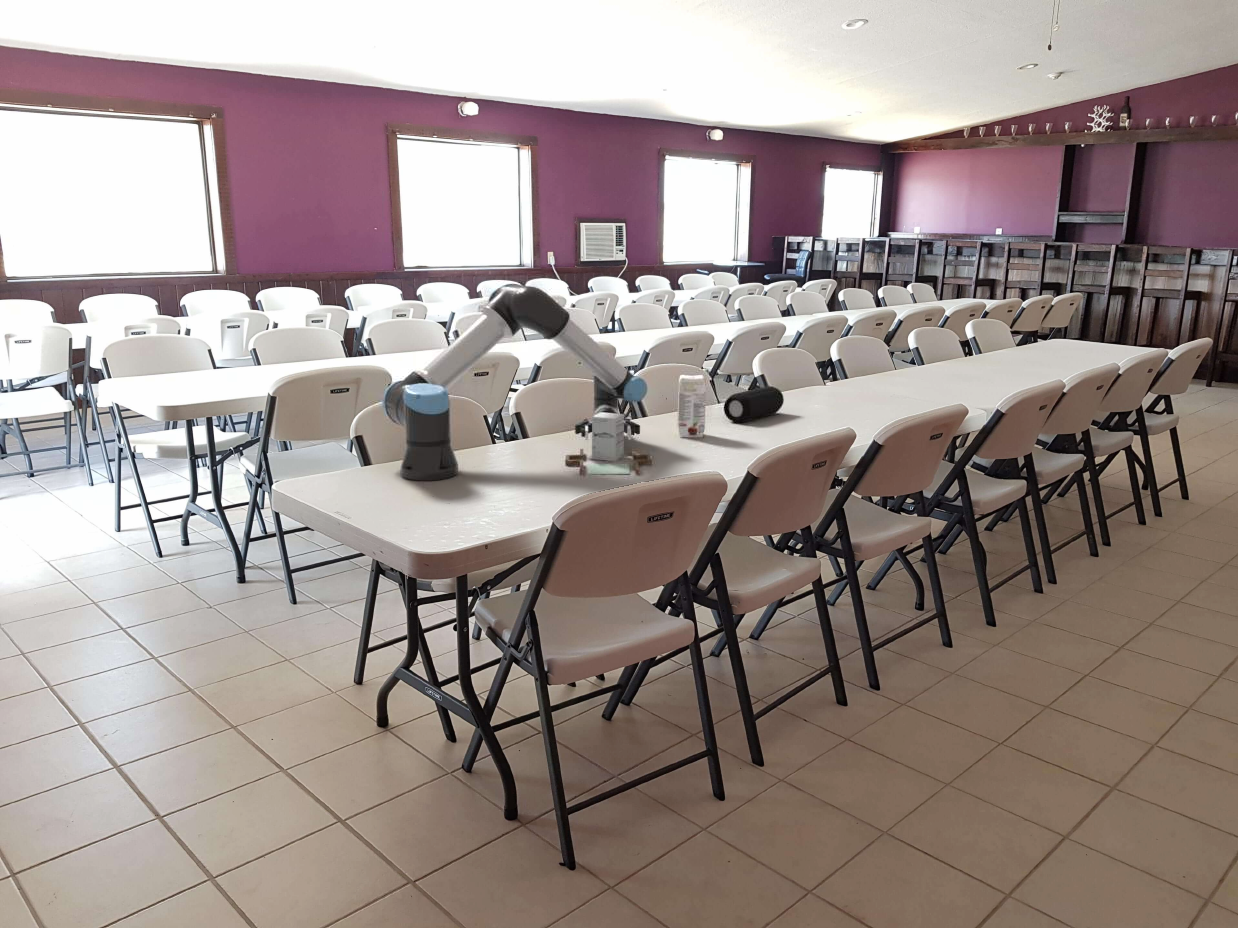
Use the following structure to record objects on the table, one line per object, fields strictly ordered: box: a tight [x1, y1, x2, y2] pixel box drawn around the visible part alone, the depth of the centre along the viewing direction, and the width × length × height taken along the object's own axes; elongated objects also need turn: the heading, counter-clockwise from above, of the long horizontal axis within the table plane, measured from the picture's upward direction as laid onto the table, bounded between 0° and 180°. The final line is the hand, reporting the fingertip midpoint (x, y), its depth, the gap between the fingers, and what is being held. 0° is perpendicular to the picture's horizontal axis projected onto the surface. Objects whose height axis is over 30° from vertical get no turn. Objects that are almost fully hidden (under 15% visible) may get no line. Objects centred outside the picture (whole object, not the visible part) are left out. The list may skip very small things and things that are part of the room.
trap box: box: [564, 448, 653, 476], centre depth 264 cm, size 24×24×2 cm
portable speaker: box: [723, 385, 785, 424], centre depth 327 cm, size 26×10×10 cm, turn 140°
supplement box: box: [591, 412, 625, 462], centre depth 270 cm, size 7×7×13 cm
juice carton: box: [677, 374, 707, 439], centre depth 298 cm, size 8×9×19 cm
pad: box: [588, 463, 631, 476], centre depth 258 cm, size 11×10×1 cm
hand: (608, 435), depth 266 cm, fingers open, 11 cm apart
